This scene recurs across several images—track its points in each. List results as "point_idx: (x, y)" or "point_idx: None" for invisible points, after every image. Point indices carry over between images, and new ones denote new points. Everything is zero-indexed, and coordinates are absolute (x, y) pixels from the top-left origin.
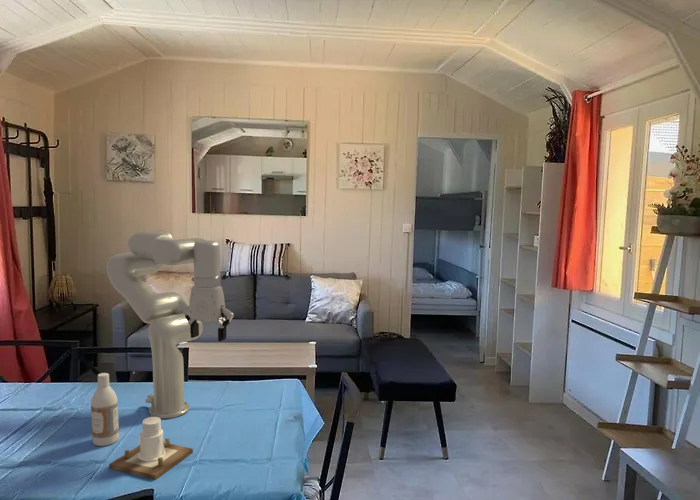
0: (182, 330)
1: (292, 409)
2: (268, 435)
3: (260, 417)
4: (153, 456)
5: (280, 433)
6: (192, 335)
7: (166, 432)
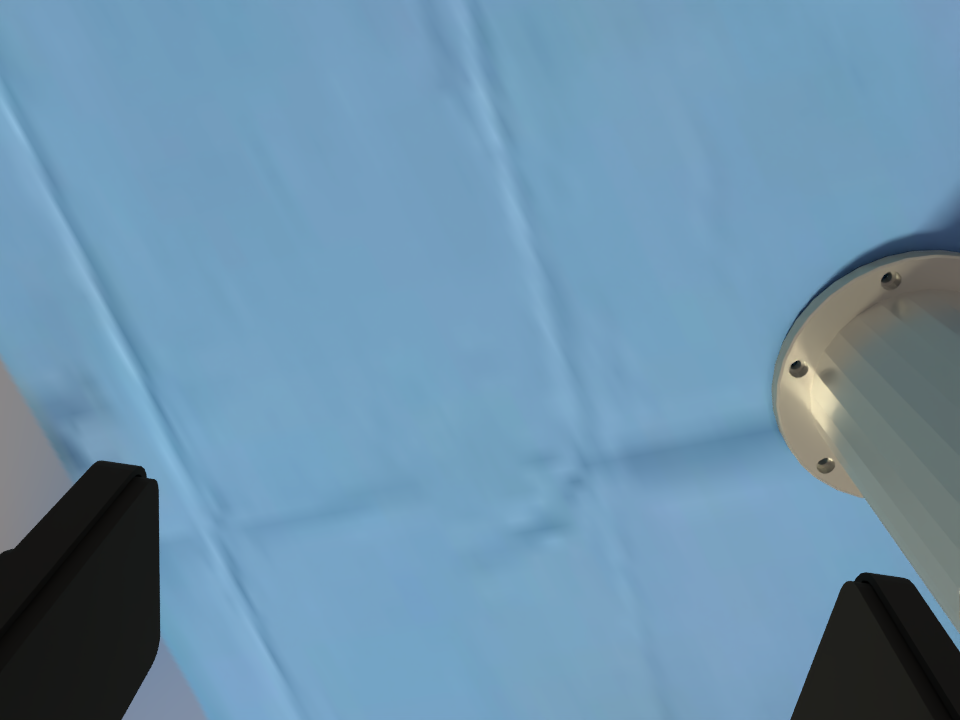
0: None
1: None
2: (95, 183)
3: (271, 409)
4: None
5: (39, 227)
6: (880, 608)
7: (787, 61)
